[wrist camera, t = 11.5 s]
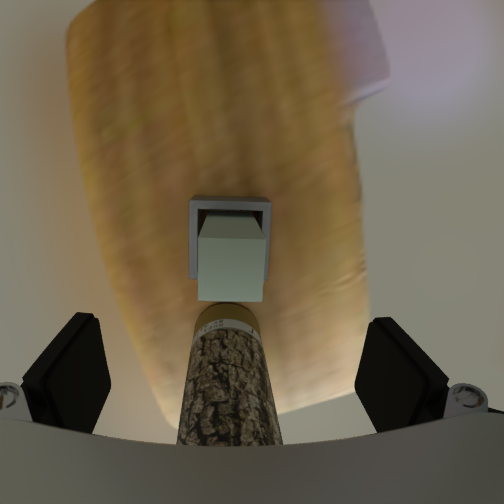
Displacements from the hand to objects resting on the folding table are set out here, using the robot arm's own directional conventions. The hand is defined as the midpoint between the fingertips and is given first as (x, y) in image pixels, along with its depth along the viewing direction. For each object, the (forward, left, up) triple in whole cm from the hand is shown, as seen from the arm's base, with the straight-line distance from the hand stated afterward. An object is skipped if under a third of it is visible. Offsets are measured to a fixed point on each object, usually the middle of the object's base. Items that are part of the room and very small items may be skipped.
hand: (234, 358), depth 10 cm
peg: (0, 0, -22) cm, 22 cm away
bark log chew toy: (+11, 0, -22) cm, 24 cm away
